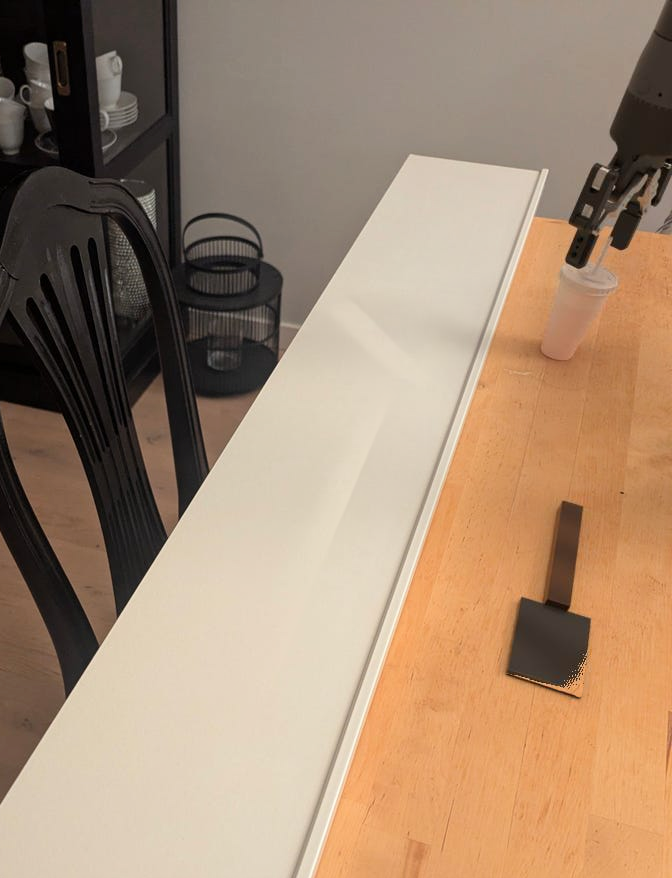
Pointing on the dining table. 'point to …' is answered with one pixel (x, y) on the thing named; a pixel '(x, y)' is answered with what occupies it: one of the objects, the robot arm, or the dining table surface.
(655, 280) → the dining table surface
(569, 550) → the spatula
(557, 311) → the smoothie
